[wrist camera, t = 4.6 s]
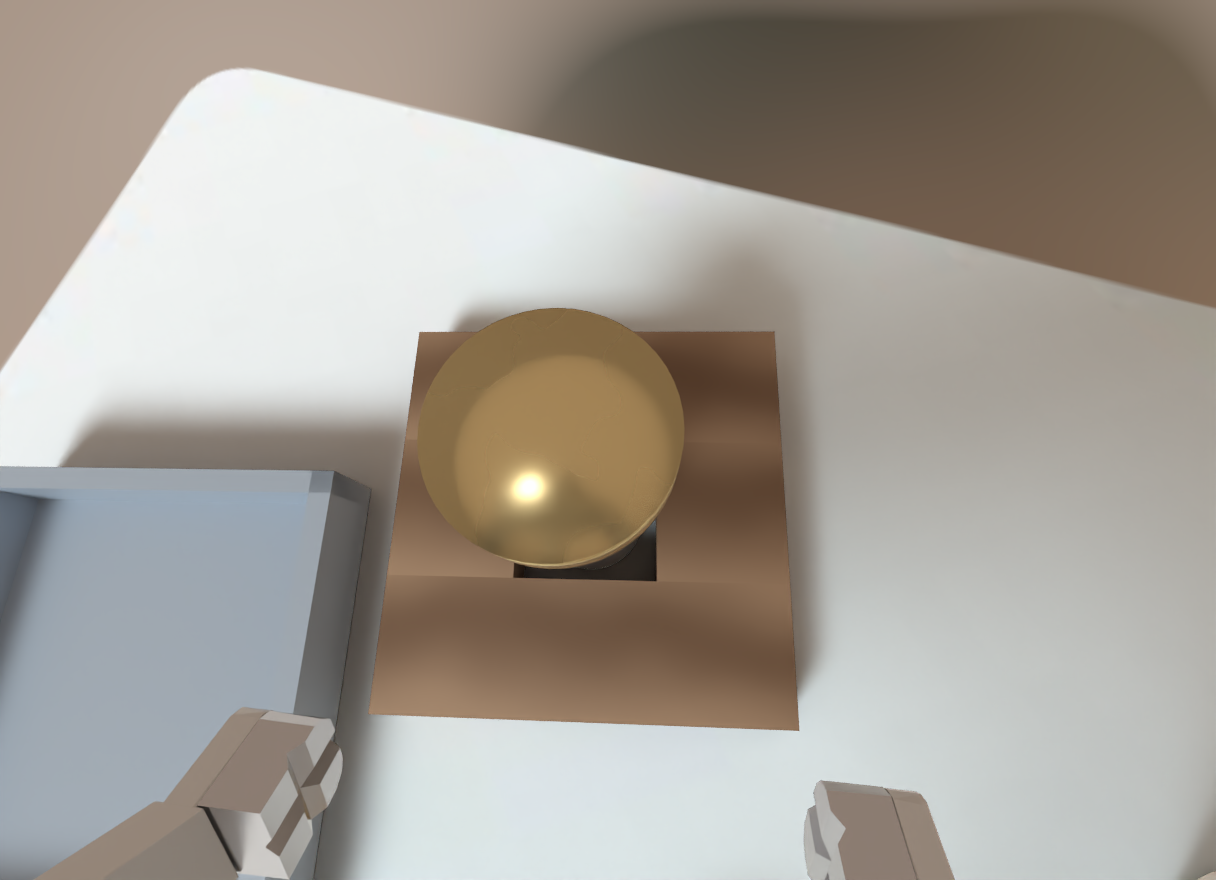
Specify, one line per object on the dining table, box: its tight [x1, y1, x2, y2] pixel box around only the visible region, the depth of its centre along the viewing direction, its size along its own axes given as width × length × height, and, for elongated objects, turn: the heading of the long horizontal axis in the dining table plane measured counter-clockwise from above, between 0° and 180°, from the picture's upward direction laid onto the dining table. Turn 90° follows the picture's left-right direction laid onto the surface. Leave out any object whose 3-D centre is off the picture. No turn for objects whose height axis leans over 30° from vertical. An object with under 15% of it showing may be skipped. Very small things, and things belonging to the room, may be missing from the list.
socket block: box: [368, 332, 799, 731], centre depth 22 cm, size 14×14×2 cm
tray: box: [0, 466, 371, 880], centre depth 20 cm, size 16×14×3 cm
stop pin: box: [417, 308, 685, 570], centre depth 18 cm, size 6×6×11 cm
